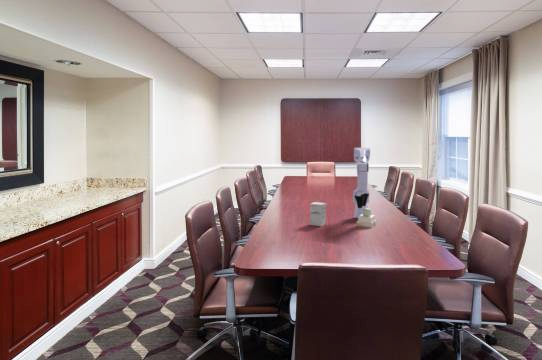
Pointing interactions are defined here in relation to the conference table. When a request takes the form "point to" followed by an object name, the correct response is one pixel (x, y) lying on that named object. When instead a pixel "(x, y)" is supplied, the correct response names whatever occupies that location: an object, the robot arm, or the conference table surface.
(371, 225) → the base slab
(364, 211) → the sage capsule
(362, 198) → the robot arm
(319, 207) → the supplement box
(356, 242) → the conference table surface
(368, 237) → the conference table surface
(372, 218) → the top slab
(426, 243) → the conference table surface
